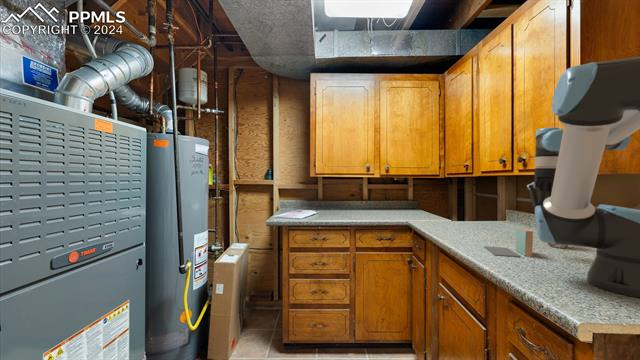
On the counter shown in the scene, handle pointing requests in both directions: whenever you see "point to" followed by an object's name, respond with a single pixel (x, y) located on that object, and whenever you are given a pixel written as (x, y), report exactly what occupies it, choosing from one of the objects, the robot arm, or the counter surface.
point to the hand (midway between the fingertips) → (544, 226)
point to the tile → (524, 241)
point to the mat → (502, 251)
